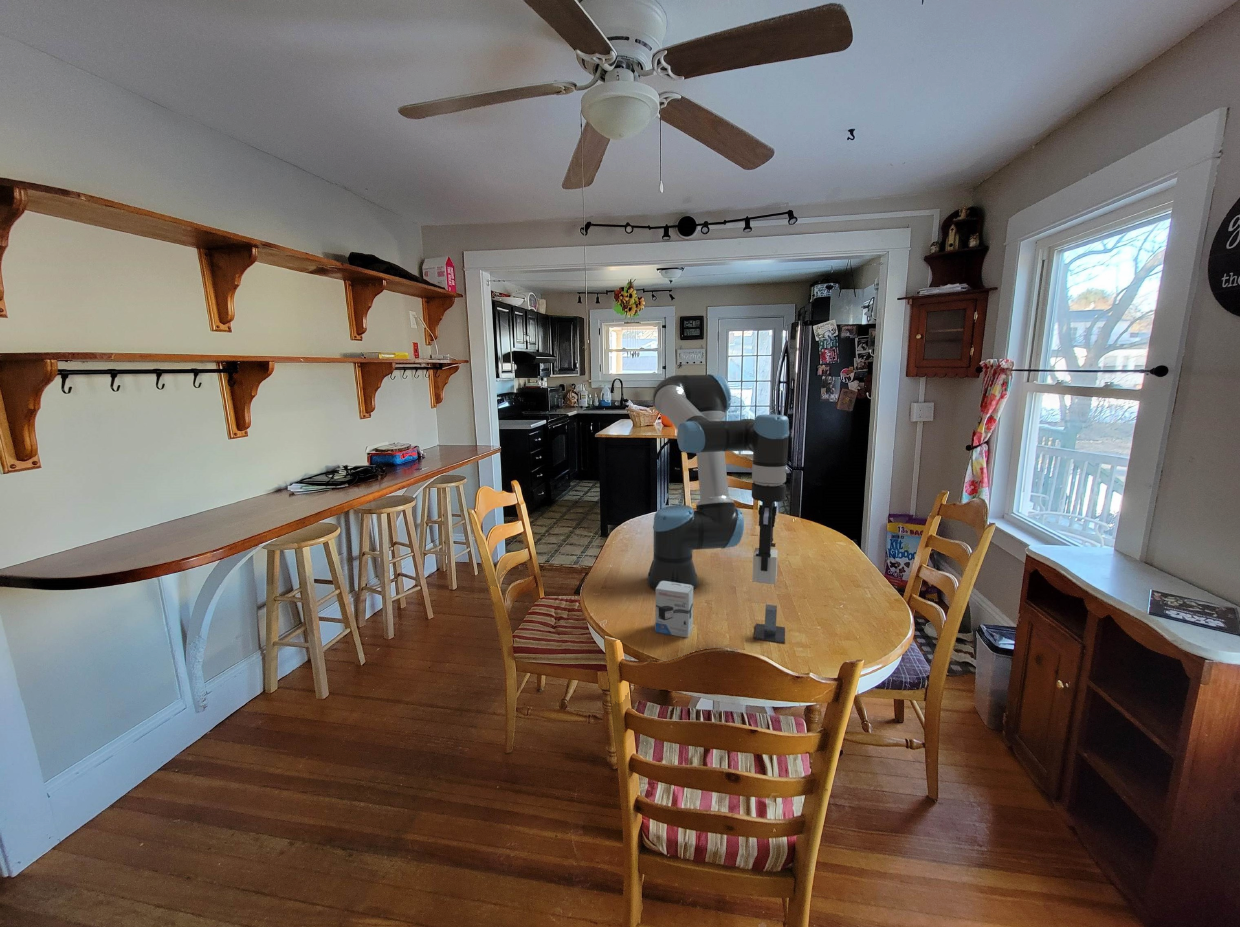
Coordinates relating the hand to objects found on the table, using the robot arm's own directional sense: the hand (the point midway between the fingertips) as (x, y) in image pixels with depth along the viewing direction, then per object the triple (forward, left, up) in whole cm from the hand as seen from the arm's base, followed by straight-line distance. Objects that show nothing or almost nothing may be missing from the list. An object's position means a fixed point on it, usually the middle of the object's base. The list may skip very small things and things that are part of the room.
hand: (764, 577), depth 121 cm
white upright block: (0, 0, 0) cm, 0 cm away
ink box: (-17, -13, -15) cm, 26 cm away
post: (+1, +2, -15) cm, 15 cm away
